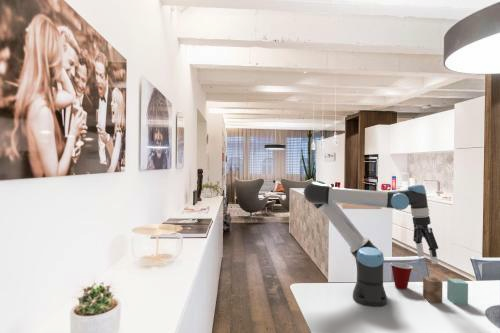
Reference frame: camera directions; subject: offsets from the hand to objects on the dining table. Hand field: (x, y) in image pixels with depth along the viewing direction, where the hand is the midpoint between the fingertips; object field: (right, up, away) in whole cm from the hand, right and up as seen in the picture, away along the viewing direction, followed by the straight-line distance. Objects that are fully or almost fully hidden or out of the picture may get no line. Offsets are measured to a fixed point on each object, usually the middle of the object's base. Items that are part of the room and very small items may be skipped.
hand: (427, 259), depth 148 cm
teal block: (+11, -19, -5) cm, 22 cm away
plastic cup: (-6, -19, +13) cm, 24 cm away
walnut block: (0, -18, -3) cm, 19 cm away
